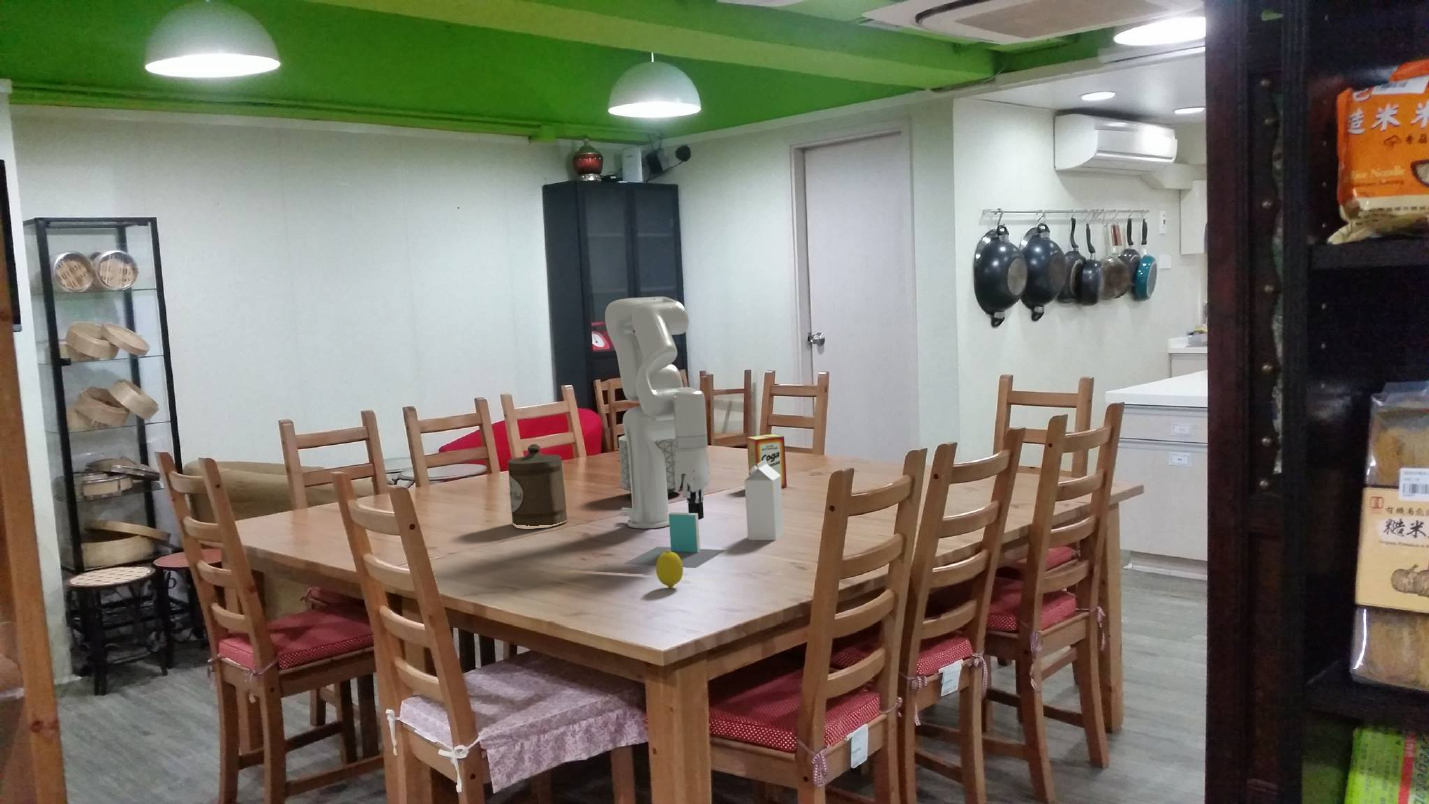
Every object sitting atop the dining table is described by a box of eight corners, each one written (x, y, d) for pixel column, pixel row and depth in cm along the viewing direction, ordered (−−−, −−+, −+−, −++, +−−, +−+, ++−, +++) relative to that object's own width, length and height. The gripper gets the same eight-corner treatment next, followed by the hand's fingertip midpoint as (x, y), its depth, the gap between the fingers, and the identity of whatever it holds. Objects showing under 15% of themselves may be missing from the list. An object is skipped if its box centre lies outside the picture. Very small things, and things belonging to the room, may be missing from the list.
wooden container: (514, 520, 306) (508, 443, 304) (567, 516, 308) (562, 439, 306) (510, 531, 292) (504, 450, 289) (566, 527, 293) (560, 446, 291)
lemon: (657, 585, 229) (654, 548, 228) (683, 583, 230) (680, 546, 229) (657, 592, 224) (655, 554, 223) (684, 590, 224) (682, 552, 223)
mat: (624, 566, 247) (624, 563, 247) (657, 549, 262) (657, 546, 262) (695, 570, 240) (695, 567, 240) (725, 552, 254) (725, 550, 254)
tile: (670, 551, 256) (667, 513, 255) (673, 549, 257) (671, 512, 256) (697, 553, 253) (694, 514, 252) (700, 551, 254) (697, 513, 253)
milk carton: (784, 535, 268) (779, 459, 266) (776, 542, 261) (771, 464, 259) (756, 535, 270) (752, 459, 268) (747, 541, 264) (743, 464, 262)
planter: (683, 499, 322) (679, 438, 320) (619, 503, 323) (615, 442, 321) (686, 487, 341) (682, 430, 339) (625, 491, 342) (621, 433, 340)
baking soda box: (758, 491, 329) (755, 438, 327) (749, 487, 335) (746, 436, 333) (786, 487, 332) (784, 435, 330) (777, 484, 338) (775, 432, 336)
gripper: (691, 437, 267) (695, 511, 269) (663, 447, 254) (668, 525, 256) (719, 438, 264) (723, 512, 266) (692, 447, 250) (697, 526, 252)
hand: (696, 518), depth 261 cm, fingers closed
